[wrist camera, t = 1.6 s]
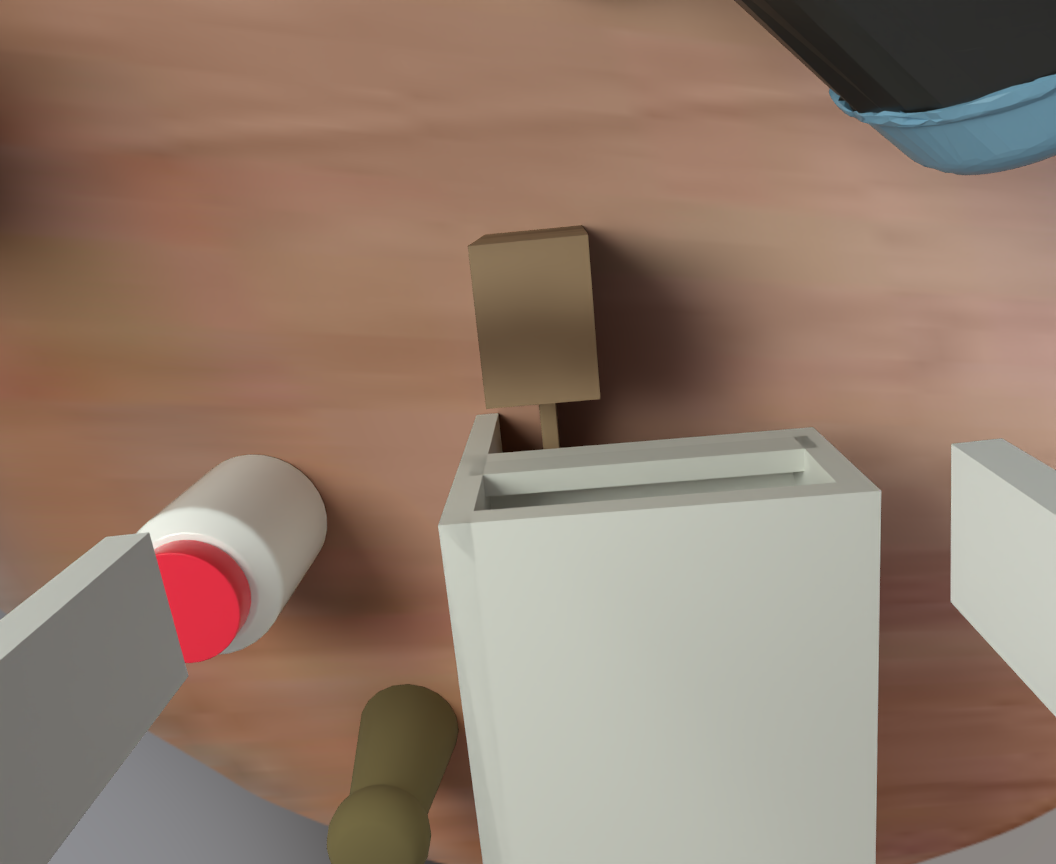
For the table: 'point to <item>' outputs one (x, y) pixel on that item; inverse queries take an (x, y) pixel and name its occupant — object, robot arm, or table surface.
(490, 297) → the tan block on stick
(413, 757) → the olive rounded cylinder
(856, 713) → the shelf cabinet
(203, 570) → the pill bottle
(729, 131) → the table surface
